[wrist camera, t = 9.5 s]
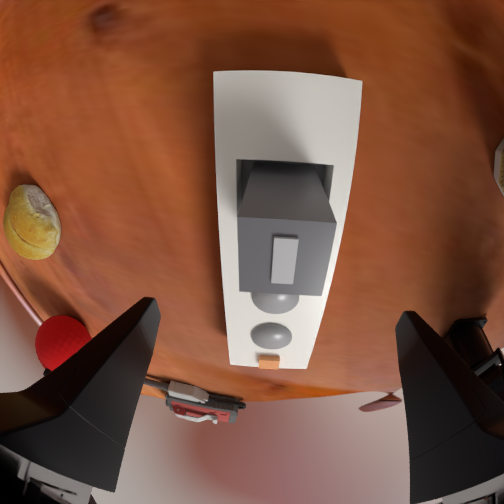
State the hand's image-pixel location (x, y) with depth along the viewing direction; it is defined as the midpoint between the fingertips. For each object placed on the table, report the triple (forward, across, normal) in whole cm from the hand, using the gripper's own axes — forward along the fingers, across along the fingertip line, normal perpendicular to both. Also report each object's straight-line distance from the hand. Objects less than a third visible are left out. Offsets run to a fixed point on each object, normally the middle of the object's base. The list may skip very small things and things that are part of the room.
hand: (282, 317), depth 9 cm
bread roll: (+12, +26, +3) cm, 29 cm away
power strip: (+12, 0, +5) cm, 13 cm away
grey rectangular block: (+11, 0, 0) cm, 11 cm away
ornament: (+12, +27, +20) cm, 36 cm away
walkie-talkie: (+12, +13, +35) cm, 39 cm away
